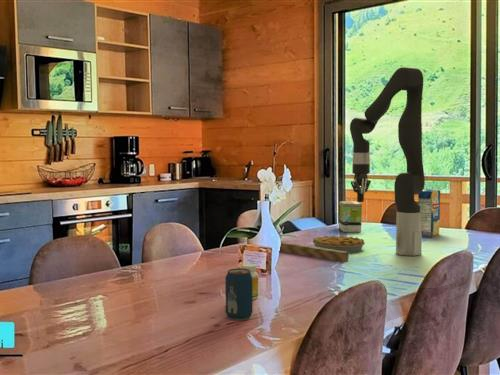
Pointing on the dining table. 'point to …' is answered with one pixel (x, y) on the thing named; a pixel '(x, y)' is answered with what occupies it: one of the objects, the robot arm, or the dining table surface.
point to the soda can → (239, 294)
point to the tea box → (350, 216)
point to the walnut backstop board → (314, 251)
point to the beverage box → (429, 212)
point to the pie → (339, 243)
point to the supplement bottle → (255, 278)
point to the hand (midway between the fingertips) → (360, 201)
